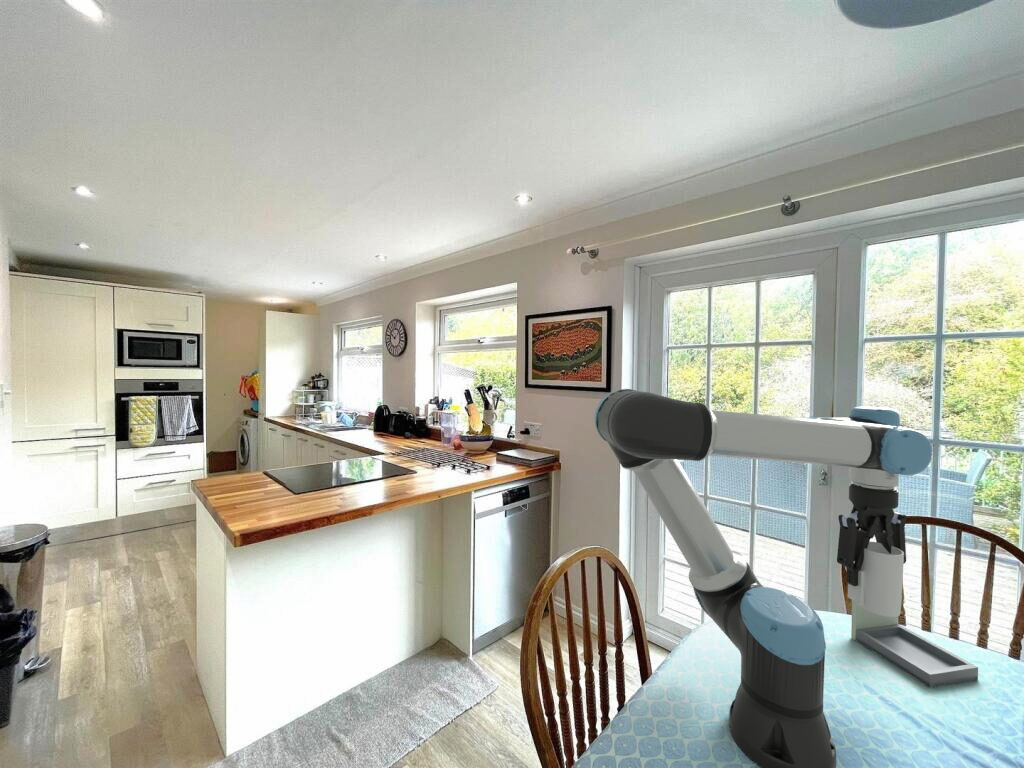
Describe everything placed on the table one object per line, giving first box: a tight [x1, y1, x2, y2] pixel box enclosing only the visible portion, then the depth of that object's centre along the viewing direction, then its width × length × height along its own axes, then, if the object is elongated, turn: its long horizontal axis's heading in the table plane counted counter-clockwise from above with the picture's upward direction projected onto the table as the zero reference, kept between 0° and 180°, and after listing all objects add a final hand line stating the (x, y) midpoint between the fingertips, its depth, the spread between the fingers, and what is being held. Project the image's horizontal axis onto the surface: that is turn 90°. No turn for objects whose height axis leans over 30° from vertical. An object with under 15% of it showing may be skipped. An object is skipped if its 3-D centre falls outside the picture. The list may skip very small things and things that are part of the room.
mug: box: [844, 541, 905, 617], centre depth 84 cm, size 10×7×12 cm, turn 16°
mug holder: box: [850, 599, 979, 689], centre depth 92 cm, size 12×16×14 cm
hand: (870, 598), depth 85 cm, fingers closed on mug, 6 cm apart
